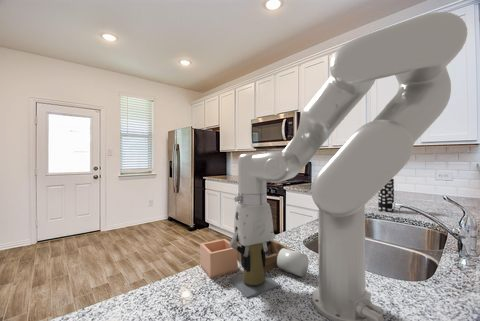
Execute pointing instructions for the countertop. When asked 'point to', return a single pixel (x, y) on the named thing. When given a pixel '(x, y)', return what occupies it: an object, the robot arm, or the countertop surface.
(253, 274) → the pepper shaker
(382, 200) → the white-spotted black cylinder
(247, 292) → the slate coaster
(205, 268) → the copper open box
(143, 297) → the countertop surface
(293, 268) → the white plastic tumbler
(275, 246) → the walnut open frame
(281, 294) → the countertop surface
